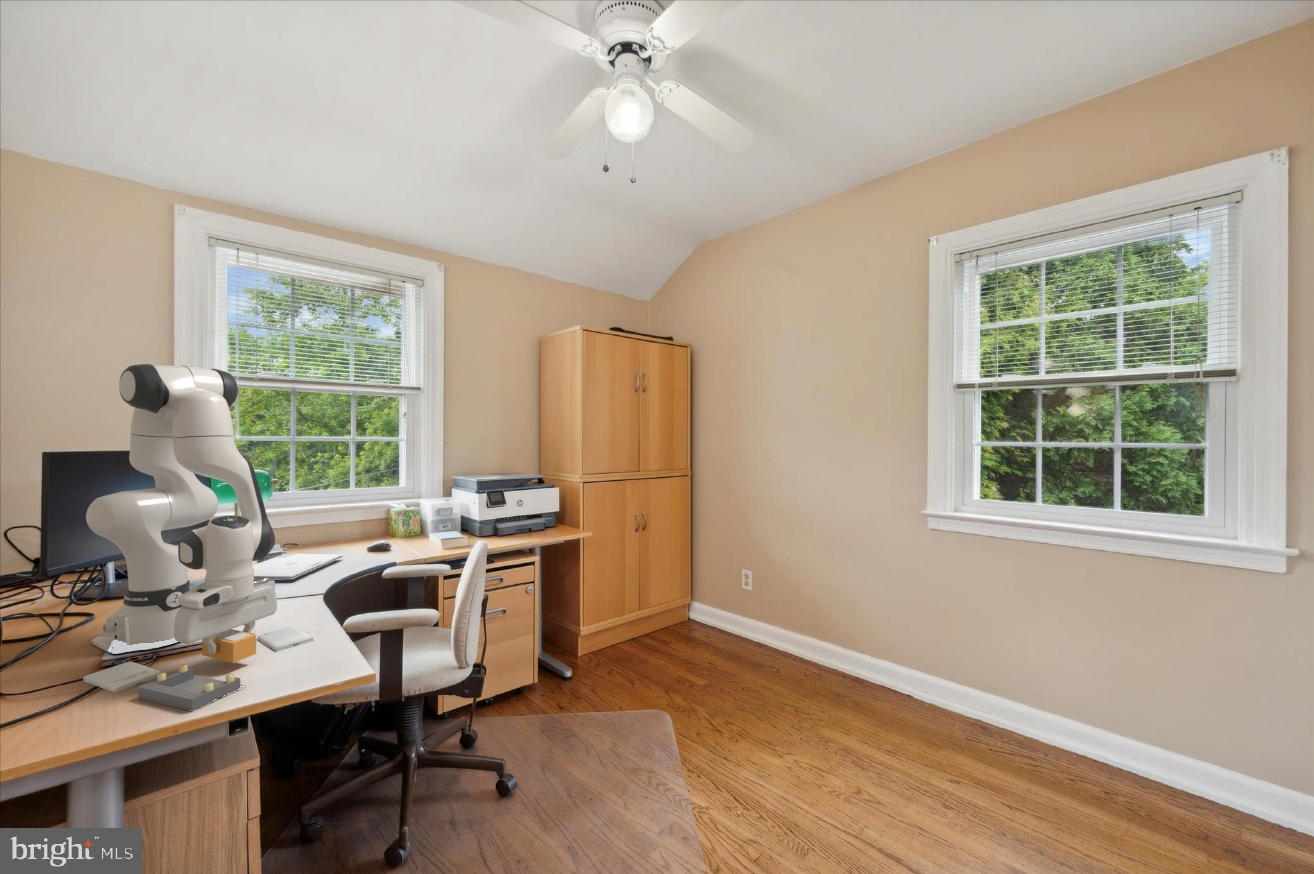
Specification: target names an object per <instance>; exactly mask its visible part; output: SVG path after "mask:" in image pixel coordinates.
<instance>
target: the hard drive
mask: <svg viewBox="0 0 1314 874" xmlns="http://www.w3.org/2000/svg"><path fill="white" fill-rule="evenodd" d="M257 641H259V642H261V643H262V644H264V645H265V646H266V647H269V649H272V651H274V650H275V652H276V653H278V651H279V652H281V651H280V650H282V651H285V650H288V649H291V647H292V648H295V647H299V646H301V645H305V644H308V643H311V642H314V641H315V640H314V637H312V636H311V635H309V634H307V633H305V632H304V631H303V630H301V629H298V628H297V627H296V626H293V625H291V626H287V627H283V628H281V629H280V628H279V629H276V630H273V631H269V632H267V633H262V634H259V635H258V636H257ZM284 649H285V650H284Z"/></svg>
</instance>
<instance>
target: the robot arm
mask: <svg viewBox="0 0 1314 874" xmlns="http://www.w3.org/2000/svg"><path fill="white" fill-rule="evenodd" d="M118 383H119V384H118V387H119V388H118V389H119V394H120V397H121V399H122V400H123V401H124V402H125V403H126V404H128V405H129V406H130V407H132V408H134V409H133V413H132V418H131V425H130V441H129V457H128V459H129V463H130V466H132V468H134V469H135V470H136V471H137V472H140V473H143V474H146V475H149V476H151V477H153V479H154V482H155V483H154V484H155V487H154V488H142V489H135V490H133V489H132V490H124V491H120V492H115V493H114V492H113V493H111V494H106V495H103V496H99V497H97V498H95V499H94V500H93V501H92V502H91V503H90V504H89V506H88V508H87V510H86V514H85V520H86V524H87V526H88V528H89V529H90V530H91V531H92V532H93V533H94V534H95V535H97V536H99V537H102V538H104V539H107V540H109V541H110V542H111V543H112V544H114V545H116V546H117V548H118V549H119V550H120V552H121V553H122V554H123V556H124V559H125V562H126V569H127V580H128V581H127V582H128V588H126V589H124V590H122V592H125V593H122V595H123V602H122V603H123V604H122V605H121V606H119V608H117V609H116V610H115V611H114V612H113V613H112V614H110V615H108V617H107V618H105V619H106V620H105V622H104V623H103V625H102V631H103V634H100V635H98V636H96V637H94V638H92V639H91V644H92V645H94V646H96V647H97V648H99V649H101V650H103V651H105V652H106V650H108V649H109V647H110V645H111V642H112V641H113V640H118V641H122V642H125V643H127V645H133V644H139V643H154V642H159V641H165V640H170V639H172V638H175V640H176V641H178V642H180V643H181V644H185V645H191V644H193V643H196V642H198V641H201V640H203V641H204V643H205V644H206V645H207V646H208V653H209V654H215V653H217V652H220V644H217V643H214V642H213V640H214V639H215V635H216V634H219V633H222V632H224V631H227V630H230V629H233V630H234V629H236V628H238V627H241V626H244V627H243V629H242V630H241V631H242V632H246V633H251V634H252V631H253V629H254V627H255V626H256V622H257V621H259V620H261V619H264V618H267V617H269V616H272V615H275V614H276V612H277V610H278V600H277V594H276V581H275V579H272V578H270V577H264V578H261V579H256V580H255V570H254V569H255V568H254V566H253V562H259V561H262V560H263V559H264V558H266V557H267V556H268V555H269V554H270V553H271V551H272V550H273V548H274V547H275V545H276V535H275V532H274V529H273V527H272V525H271V522H270V520H269V517H268V513H267V512H266V507H265V504H264V501H263V500H264V499H263V496H262V493H261V489H260V485H259V481H258V478H257V477H258V476H257V474H256V471H255V468H254V466H253V464H252V462H251V460H249V459H248V458H247V457H245V456H243V455H242V454H241V452H239V450H238V448H237V446H236V443H235V436H234V434H235V433H234V426H233V421H232V420H233V419H232V415H231V410H230V407H231V406H232V405H233V404H235V402H236V400H237V397H238V395H239V393H238V392H239V387H238V383H237V381H236V379H235V378H234V376H233V375H232V374H231V373H229V372H227V371H224V370H220V369H217V368H206V367H198V366H191V365H185V364H184V365H183V364H181V365H170V364H169V365H167V364H165V365H164V364H162V365H161V364H160V365H158V364H157V365H155V364H153V365H152V364H151V363H143V364H141V363H140V364H133V365H130V366H128V367H127V368H125V370H123V372H122V373H121V375H120V378H119V382H118ZM196 475H199V476H202V477H206V478H210V479H215V480H218V481H221V482H224V483H226V484H228V485H229V486H230V487H231V488H232V489H233V491H234V493H235V497H236V499H237V504H238V508H239V512H240V515H238V516H237V515H223V516H217V517H215V515H216V514H217V512H218V509H219V500H218V497H217V494H216V493H215V492H214V491H213V490H212V489H211V487H208V486H206V485H205V484H203V483H202V482H201V481H200V479H198V478H197V476H196ZM214 517H215V518H214ZM212 518H213V519H212ZM206 521H208V523H207V525H205V526H202V527H198V528H195V529H192V530H189V531H187V532H186V533H185V534H184V535H183V536H182V537H181V538H180V540H179V542H178V545H174V544H171V543H166V542H164V540H163V538H162V531H169V530H175V529H181V528H187V527H191V526H195V525H199V524H201V523H203V522H206ZM188 569H190V570H194V571H195V570H196V571H197V570H205V577H204V581H203V582H202V583H200V584H198V585H197V586H195V587H193V588H192V587H191V583H190V580H189V579H188V578H189V577H188ZM180 643H179V644H180Z"/></svg>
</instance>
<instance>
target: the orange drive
mask: <svg viewBox="0 0 1314 874" xmlns="http://www.w3.org/2000/svg"><path fill="white" fill-rule="evenodd" d="M242 631H243V630H237V629H234V628H233V629H230V630H227V631H224V632H222V633H219V634H216V635H215V639H214V640H213V642H214V643H217V644H220V652H217V653H215V654H209V653H208V646H207V645H206V644H205V643H204V641H203V640H202V643H201V644H202V647H201V651H202V652H201V653H202V654H201V655H202V656H204V657H207V658H208V657H209V658H212V659H216V660H219V661H224V662H227V663H231V664H235V663H237V662H240V661H242V660H245V659H247V658H250V657H252V656H255V655H256V654H257V634H254V633H252V632H251V633H246V632H242Z"/></svg>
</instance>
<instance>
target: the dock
mask: <svg viewBox="0 0 1314 874" xmlns="http://www.w3.org/2000/svg"><path fill="white" fill-rule="evenodd" d="M162 672H163V673H159V674H157V678H156V680H153V681H151V682H150V681H149V682H148V683H145V684H143V685H140V686H138V699H139V700H142V701H147V702H151V703H155V704H159V705H163V704H164V705H163V706H169V707H172V708H175V709H179V708H181V709H180V710H183V709H186V710H185V711H187V710H191V711H190V712H192V711H193V710H195V709H197V708H199V709H201V708H202V707H201V706H204V705H206V704H208V703H209V702H212V701H213V700H215V699H219V698H220V697H223V696H224V695H227V694H228V693H231V692H233V691H235V690H237V689H239V688H240V686H245V685H244V684H241V678H240V677H235V673H227V674H226V675H225V680H220V679H216V678H215V679H214V678H210V677H206V676H201V675H197V674H195V673H194V672H195V671H194V668H193V667H189V665H188V663H184V664H183V663H182V664H181V665H179V666H178V671H177V672H173V673H171V674H169V675H167V672H164V671H162ZM241 688H242V687H241ZM227 696H228V695H227ZM223 698H224V697H223ZM219 700H220V699H219ZM212 703H213V702H212ZM208 705H209V704H208ZM206 706H207V705H206ZM200 707H201V708H200ZM204 707H205V706H204ZM197 710H198V709H197ZM195 711H196V710H195ZM193 712H194V711H193Z"/></svg>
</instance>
